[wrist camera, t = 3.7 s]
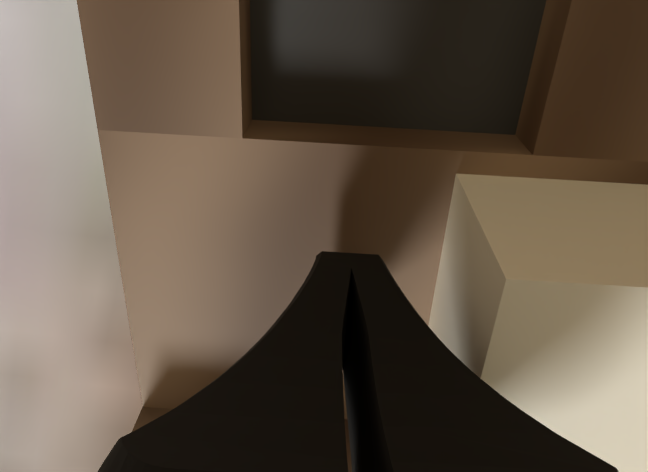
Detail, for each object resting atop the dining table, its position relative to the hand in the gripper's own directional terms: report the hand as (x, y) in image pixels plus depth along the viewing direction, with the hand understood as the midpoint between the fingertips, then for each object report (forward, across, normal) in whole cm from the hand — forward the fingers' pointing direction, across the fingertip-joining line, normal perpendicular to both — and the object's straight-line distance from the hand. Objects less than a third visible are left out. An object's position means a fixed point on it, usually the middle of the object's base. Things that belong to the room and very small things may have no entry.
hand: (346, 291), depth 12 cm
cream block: (+1, -5, 0) cm, 5 cm away
